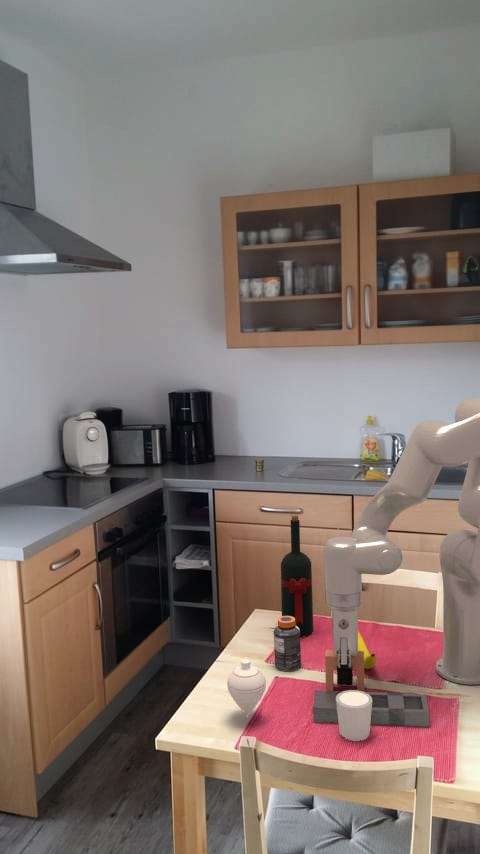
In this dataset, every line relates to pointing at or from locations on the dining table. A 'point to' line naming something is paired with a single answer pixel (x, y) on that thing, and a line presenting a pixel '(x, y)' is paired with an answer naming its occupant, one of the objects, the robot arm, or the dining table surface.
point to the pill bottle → (287, 644)
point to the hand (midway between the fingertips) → (345, 679)
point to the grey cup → (354, 714)
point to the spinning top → (246, 685)
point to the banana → (366, 653)
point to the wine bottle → (297, 583)
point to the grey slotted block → (378, 708)
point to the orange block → (356, 664)
